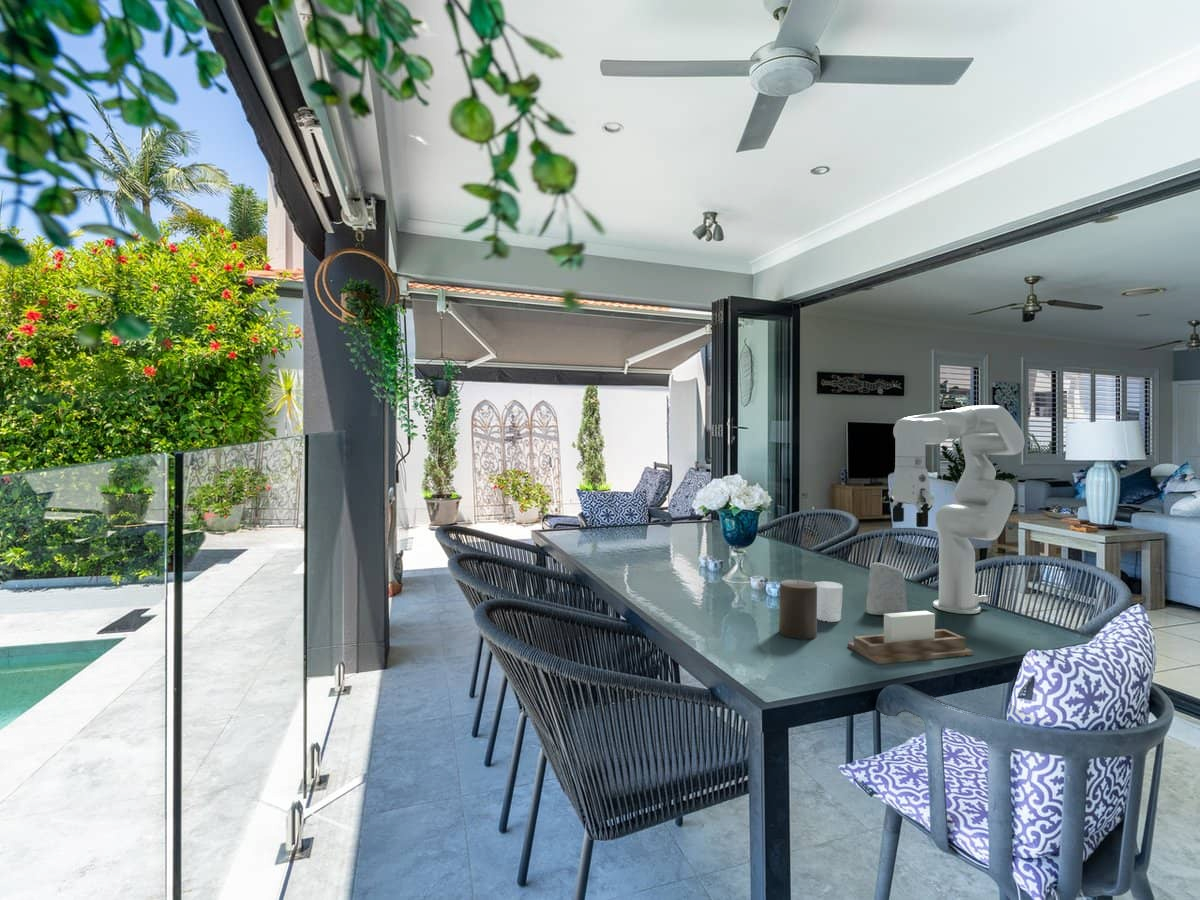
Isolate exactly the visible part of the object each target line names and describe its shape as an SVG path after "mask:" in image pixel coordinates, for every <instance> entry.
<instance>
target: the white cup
mask: <svg viewBox="0 0 1200 900" xmlns="http://www.w3.org/2000/svg"><path fill="white" fill-rule="evenodd" d="M814 583H815V584H817V621H821V620H822V621H821V622H825V621H827V623H836V622H840V621H841V618H842V605H843V587H844V586H843V584H842V583H839V582H836V581H834V582H833V581H828V580H827V581H826V580H825V581H815V582H814Z"/></svg>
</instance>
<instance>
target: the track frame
mask: <svg viewBox="0 0 1200 900" xmlns="http://www.w3.org/2000/svg"><path fill="white" fill-rule="evenodd" d="M966 640H967V639H966V637H965V636H962V635H959V634H957V633H956V632H953V631H951V630H948V629H945V628H939V629H935V639H925V640H913V641H902V642H891V643H884V633H882V634H869V635H868V634H867V635H859V636H853V642H847V648H850V649H851V650H853V651H854V650H855V652H856V653H858V654H860V655H861V656H863V657H864V658H866V659H869V661H871V662H873V663H875V664H877V665H885V664H894V663H904V662H905V663H906V662H914V661H923V660H924V661H925V660H934V659H935V660H937V659H944V658H947V657H948V658H956V656H958V657H966V656H965V655H968V656H974V650H972V649H970V648H967V647H966Z"/></svg>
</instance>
